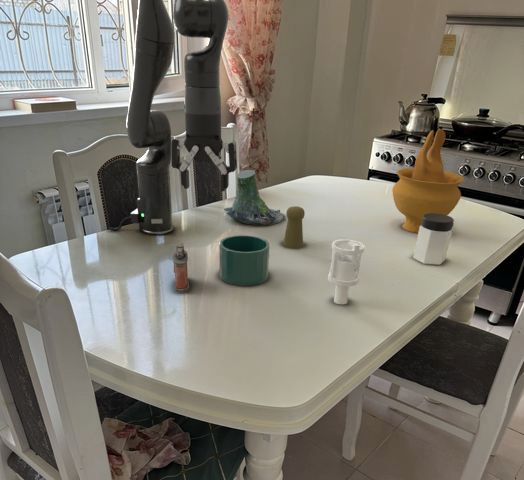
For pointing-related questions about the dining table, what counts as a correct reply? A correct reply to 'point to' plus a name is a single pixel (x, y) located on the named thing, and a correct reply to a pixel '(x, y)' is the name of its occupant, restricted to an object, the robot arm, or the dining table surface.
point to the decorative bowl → (426, 185)
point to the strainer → (345, 268)
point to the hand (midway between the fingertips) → (204, 189)
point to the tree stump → (251, 203)
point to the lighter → (181, 269)
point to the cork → (294, 228)
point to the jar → (433, 238)
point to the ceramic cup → (244, 260)
